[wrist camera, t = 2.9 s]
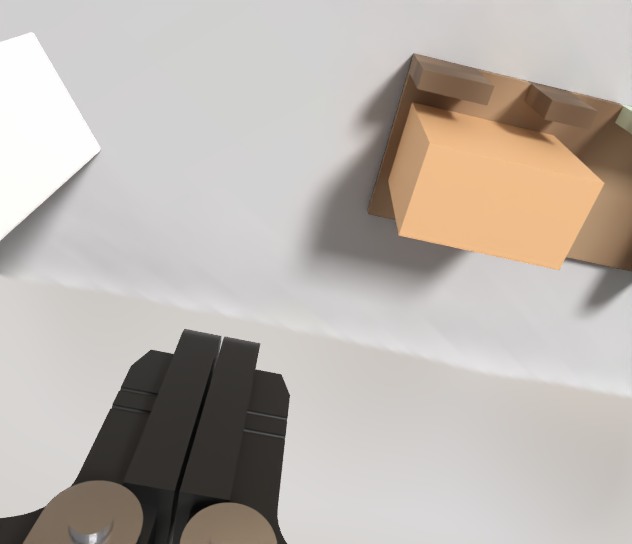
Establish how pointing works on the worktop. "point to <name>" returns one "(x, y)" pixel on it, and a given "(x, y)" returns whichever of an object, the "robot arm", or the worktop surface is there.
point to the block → (489, 187)
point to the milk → (35, 131)
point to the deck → (542, 116)
